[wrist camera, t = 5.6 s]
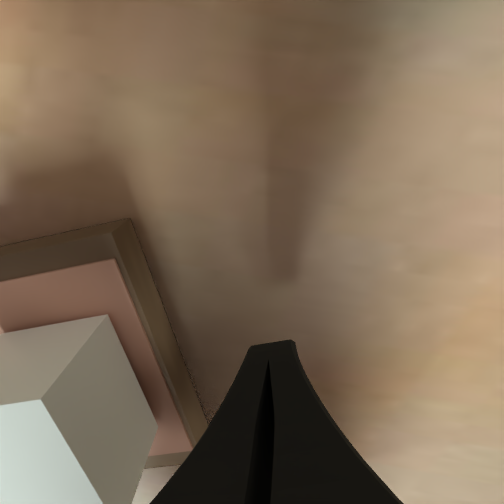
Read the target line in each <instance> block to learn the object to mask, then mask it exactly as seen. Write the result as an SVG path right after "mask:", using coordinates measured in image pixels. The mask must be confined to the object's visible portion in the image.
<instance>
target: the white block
mask: <svg viewBox="0 0 504 504" xmlns="http://www.w3.org/2000/svg"><path fill="white" fill-rule="evenodd" d="M157 429H158V425H157V423H156V420H155V418H154V416H153V414H152V411H151V409H150V407H149V405H148V403H147V400H146V398H145V396H144V394H143V391H142V389H141V387H140V385H139V383H138V380H137V378H136V376H135V374H134V372H133V369H132V367H131V365H130V363H129V360H128V358H127V356H126V354H125V352H124V349H123V347H122V345H121V343H120V340H119V338H118V336H117V334H116V332H115V329H114V327H113V325H112V323H111V321H110V318H109V316H108V314H106V315H101V316H95V317H90V318H84V319H79V320H73V321H68V322H62V323H57V324H51V325H46V326H41V327H35V328H30V329H24V330H19V331H13V332H8V333H2V334H0V504H131V503H132V501H133V498H134V495H135V492H136V489H137V486H138V483H139V481H140V478H141V475H142V472H143V469H144V466H145V463H146V460H147V458H148V455H149V452H150V449H151V446H152V443H153V440H154V438H155V435H156V432H157Z"/></svg>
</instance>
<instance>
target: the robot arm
mask: <svg viewBox="0 0 504 504" xmlns="http://www.w3.org/2000/svg"><path fill="white" fill-rule="evenodd" d="M150 504H403V503H402V502H401V501H400V500H399V499H398V497H397V496H396V495H395V494H394V493H393V492H392V491H391V490H390V489H389V488H388V486H387V485H386V484H385V483H384V482H383V481H382V480H381V479H380V477H379V476H378V475H377V474H376V473H375V472H374V471H373V470H372V468H371V467H370V466H369V465H368V464H367V463H366V462H365V460H364V459H363V458H362V457H361V456H360V454H359V453H358V452H357V451H356V449H355V448H354V447H353V446H352V444H351V443H350V442H349V440H348V439H347V438H346V436H345V435H344V434H343V432H342V431H341V430H340V428H339V427H338V426H337V424H336V423H335V421H334V420H333V419H332V417H331V416H330V414H329V413H328V411H327V409H326V408H325V406H324V405H323V403H322V402H321V400H320V399H319V397H318V395H317V394H316V392H315V390H314V388H313V386H312V385H311V383H310V381H309V379H308V377H307V375H306V373H305V371H304V369H303V367H302V365H301V362H300V360H299V357H298V354H297V349H296V345H295V342H294V341H292V340H285V341H278V342H272V343H266V344H260V345H254V346H251V347H250V348H249V349H248V352H247V354H246V356H245V359H244V361H243V363H242V365H241V367H240V370H239V372H238V374H237V376H236V378H235V380H234V382H233V384H232V386H231V387H230V389H229V391H228V393H227V395H226V397H225V399H224V401H223V402H222V404H221V406H220V408H219V409H218V411H217V413H216V414H215V416H214V418H213V419H212V421H211V423H210V424H209V426H208V427H207V429H206V431H205V432H204V434H203V435H202V437H201V438H200V440H199V441H198V443H197V444H196V445H195V447H194V448H193V450H192V451H191V452H190V454H189V455H188V457H187V458H186V459H185V461H184V462H183V463H182V465H181V466H180V467H179V468H178V470H177V471H176V472H175V474H174V475H173V476H172V477H171V479H170V480H169V481H168V482H167V484H166V485H165V486H164V487H163V489H162V490H161V491H160V492H159V493H158V495H157V496H156V497H155V498H154V499H153V500H152V502H151V503H150Z"/></svg>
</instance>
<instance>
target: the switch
mask: <svg viewBox="0 0 504 504" xmlns="http://www.w3.org/2000/svg"><path fill="white" fill-rule="evenodd" d="M106 314H108V316H109V318H110V321H111V323H112V325H113V327H114V329H115V332H116V334H117V336H118V338H119V340H120V343H121V345H122V347H123V349H124V352H125V354H126V356H127V358H128V360H129V363H130V365H131V367H132V369H133V372H134V374H135V376H136V378H137V380H138V383H139V385H140V387H141V389H142V391H143V394H144V396H145V398H146V400H147V403H148V405H149V407H150V409H151V411H152V414H153V416H154V418H155V420H156V423H157V425H158V429H157V432H156V435H155V438H154V440H153V443H152V446H151V449H150V452H149V455H148V458H147V460H146V463H145V466H144V469H147V468H155V467H163V466H172V465H180V464H182V463H183V462H184V461H185V459H186V458H187V457H188V455H189V454H190V452H191V451H192V450H193V448H194V447H195V445H196V444H197V443H198V441H199V440H200V438H201V437H202V435H203V434H204V432H205V431H206V429H207V427H208V424H207V421H206V418H205V416H204V413H203V410H202V408H201V405H200V402H199V400H198V397H197V394H196V392H195V389H194V387H193V384H192V381H191V379H190V376H189V373H188V371H187V368H186V365H185V363H184V360H183V357H182V355H181V352H180V349H179V347H178V344H177V341H176V339H175V336H174V334H173V331H172V328H171V326H170V323H169V320H168V318H167V315H166V312H165V310H164V307H163V304H162V302H161V299H160V296H159V294H158V291H157V288H156V286H155V283H154V280H153V278H152V275H151V273H150V270H149V267H148V265H147V262H146V259H145V257H144V254H143V251H142V249H141V246H140V243H139V241H138V238H137V235H136V233H135V230H134V227H133V225H132V222H131V220H130V218H128V219H123V220H119V221H114V222H110V223H105V224H101V225H96V226H92V227H87V228H82V229H78V230H73V231H69V232H64V233H60V234H55V235H51V236H46V237H42V238H37V239H32V240H28V241H23V242H19V243H14V244H10V245H5V246H1V247H0V334H2V333H8V332H13V331H19V330H24V329H30V328H35V327H41V326H46V325H51V324H57V323H62V322H68V321H73V320H79V319H84V318H90V317H95V316H101V315H106Z"/></svg>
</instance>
